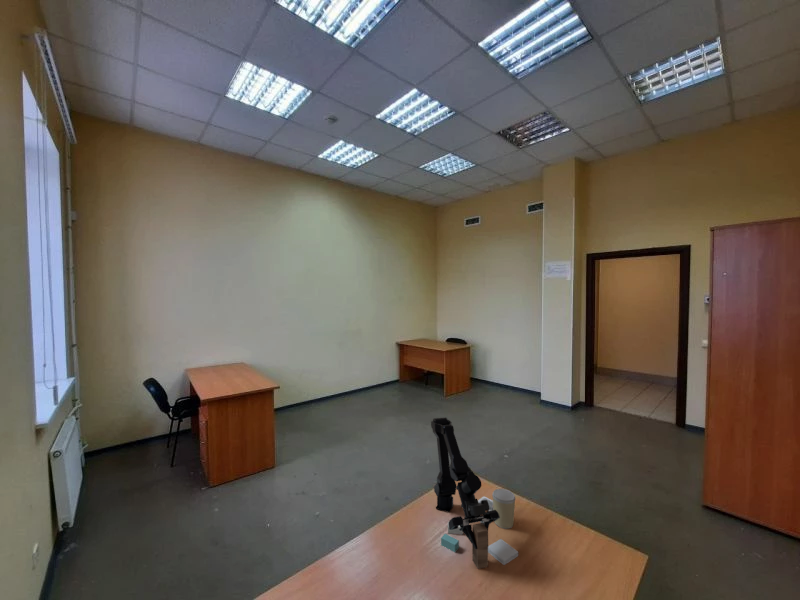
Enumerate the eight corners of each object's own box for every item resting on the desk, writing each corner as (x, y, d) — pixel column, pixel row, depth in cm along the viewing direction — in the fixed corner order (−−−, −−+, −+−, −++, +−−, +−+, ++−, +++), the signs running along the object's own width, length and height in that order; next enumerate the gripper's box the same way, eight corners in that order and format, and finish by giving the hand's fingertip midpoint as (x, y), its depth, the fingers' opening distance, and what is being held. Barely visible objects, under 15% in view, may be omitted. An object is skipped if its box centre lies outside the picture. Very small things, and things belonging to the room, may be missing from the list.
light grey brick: (447, 533, 134) (447, 526, 134) (447, 528, 137) (447, 521, 137) (462, 535, 133) (462, 527, 133) (462, 529, 136) (462, 522, 136)
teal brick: (441, 545, 127) (441, 537, 127) (445, 541, 130) (445, 533, 130) (454, 553, 124) (454, 545, 124) (458, 548, 126) (458, 540, 126)
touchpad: (504, 521, 142) (504, 516, 142) (474, 505, 153) (474, 500, 153) (512, 513, 147) (512, 508, 147) (483, 498, 158) (483, 493, 158)
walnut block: (472, 560, 120) (472, 524, 120) (482, 558, 121) (482, 522, 121) (477, 569, 116) (477, 532, 116) (487, 566, 117) (487, 530, 117)
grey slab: (486, 552, 124) (486, 547, 124) (500, 543, 129) (500, 538, 129) (503, 566, 118) (503, 561, 118) (518, 557, 122) (518, 551, 122)
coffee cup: (512, 516, 144) (512, 488, 144) (517, 531, 135) (517, 501, 135) (490, 514, 145) (490, 487, 145) (494, 529, 136) (494, 500, 136)
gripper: (451, 496, 120) (465, 548, 109) (497, 488, 125) (514, 538, 114) (443, 504, 127) (455, 554, 117) (486, 497, 132) (501, 544, 122)
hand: (481, 547), depth 117 cm, fingers closed on walnut block, 4 cm apart
